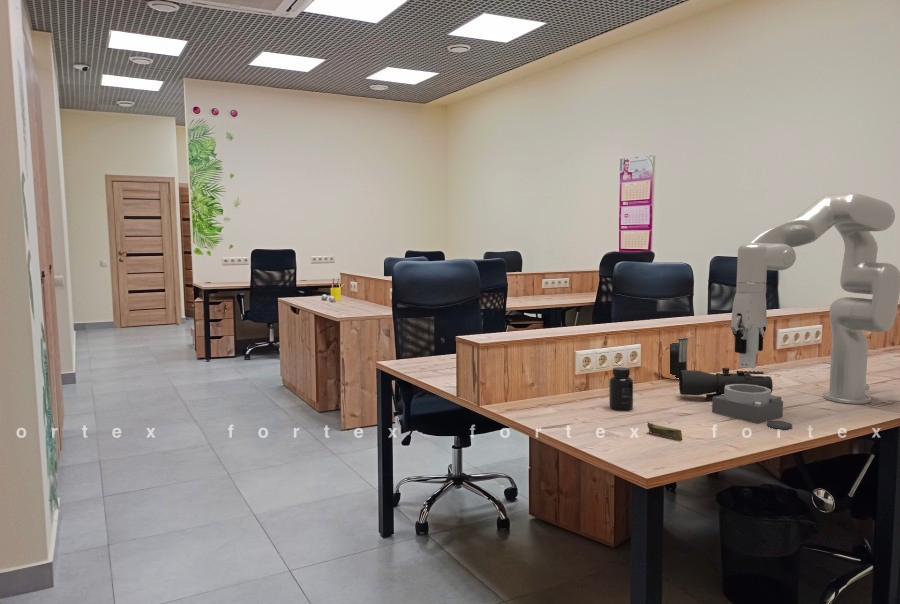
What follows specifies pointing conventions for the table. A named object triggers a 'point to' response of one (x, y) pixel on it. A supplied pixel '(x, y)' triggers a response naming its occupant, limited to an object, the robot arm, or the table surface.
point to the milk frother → (678, 357)
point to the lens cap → (779, 425)
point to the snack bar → (665, 431)
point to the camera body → (748, 403)
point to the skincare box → (750, 348)
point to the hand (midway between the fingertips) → (748, 351)
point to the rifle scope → (717, 381)
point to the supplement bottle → (621, 390)
